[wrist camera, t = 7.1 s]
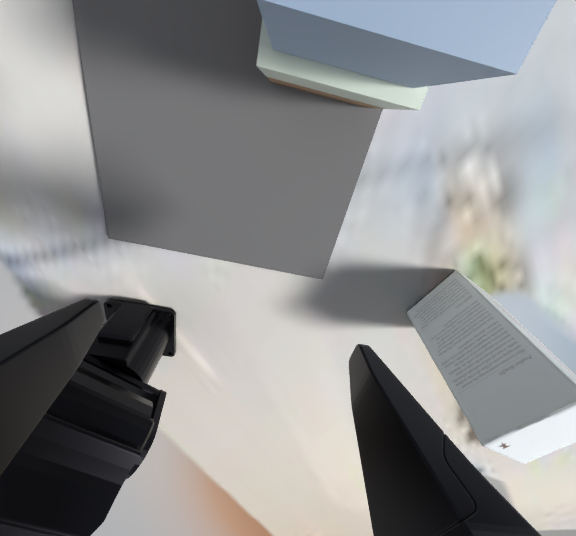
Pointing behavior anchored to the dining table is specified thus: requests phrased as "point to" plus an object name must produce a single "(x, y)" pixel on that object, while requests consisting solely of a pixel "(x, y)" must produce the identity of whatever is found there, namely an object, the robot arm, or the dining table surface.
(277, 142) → the placemat
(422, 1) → the cube
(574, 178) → the dining table surface
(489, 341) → the skincare box
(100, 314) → the robot arm
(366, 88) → the tower mid
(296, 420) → the dining table surface
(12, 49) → the dining table surface
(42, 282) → the dining table surface
